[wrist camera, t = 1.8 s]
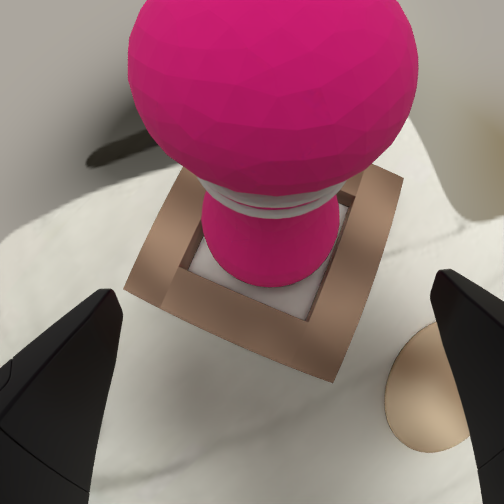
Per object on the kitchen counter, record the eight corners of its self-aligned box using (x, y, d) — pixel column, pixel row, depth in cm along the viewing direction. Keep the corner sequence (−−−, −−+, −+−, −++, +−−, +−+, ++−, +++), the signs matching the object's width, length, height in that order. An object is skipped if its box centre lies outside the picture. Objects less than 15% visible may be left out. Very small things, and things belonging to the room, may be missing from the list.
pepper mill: (194, 233, 22) (-13, -35, 2) (274, 168, 22) (278, -140, 3) (264, 316, 20) (189, 299, 1) (345, 243, 21) (564, -14, 1)
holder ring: (327, 377, 19) (332, 383, 17) (135, 292, 21) (123, 289, 19) (394, 189, 22) (403, 178, 20) (220, 124, 24) (216, 109, 22)
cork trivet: (462, 457, 17) (466, 460, 16) (360, 434, 18) (362, 437, 18) (509, 340, 19) (513, 340, 18) (416, 299, 20) (420, 298, 19)
